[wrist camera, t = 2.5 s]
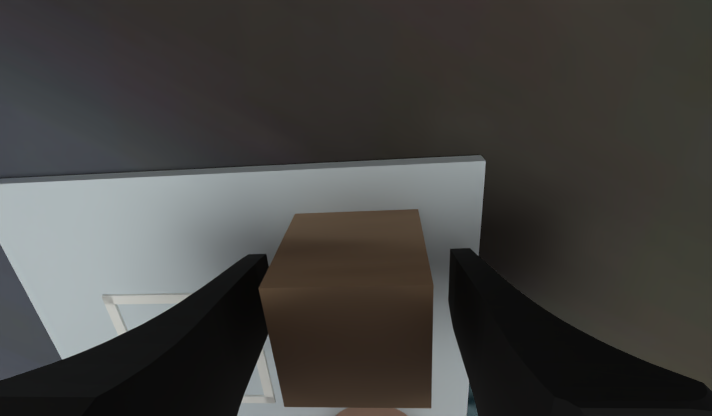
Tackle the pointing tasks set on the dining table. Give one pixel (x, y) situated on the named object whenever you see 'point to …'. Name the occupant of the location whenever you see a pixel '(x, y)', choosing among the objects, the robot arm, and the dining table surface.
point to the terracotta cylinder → (371, 412)
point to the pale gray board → (221, 246)
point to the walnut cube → (351, 311)
